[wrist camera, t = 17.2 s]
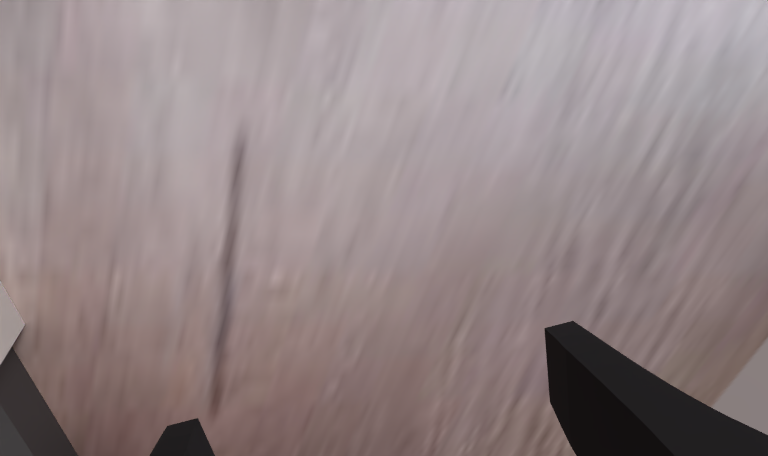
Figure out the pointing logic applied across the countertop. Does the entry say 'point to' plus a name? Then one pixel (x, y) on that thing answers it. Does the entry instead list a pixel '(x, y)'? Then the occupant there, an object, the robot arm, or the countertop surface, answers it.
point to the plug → (23, 399)
